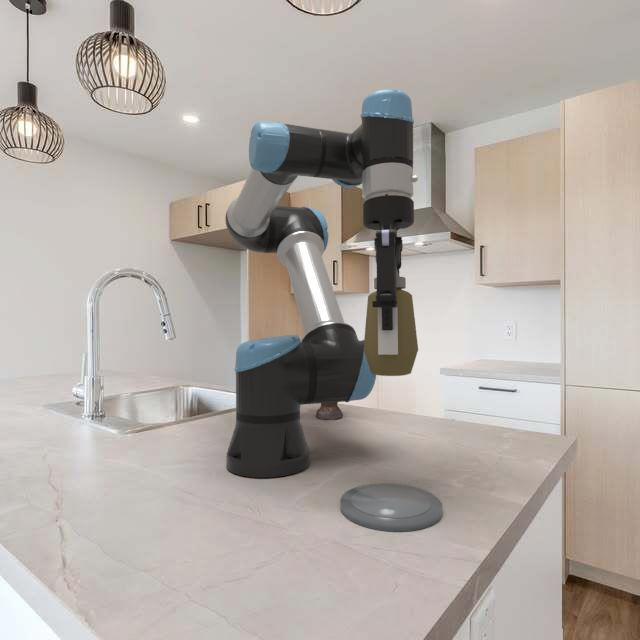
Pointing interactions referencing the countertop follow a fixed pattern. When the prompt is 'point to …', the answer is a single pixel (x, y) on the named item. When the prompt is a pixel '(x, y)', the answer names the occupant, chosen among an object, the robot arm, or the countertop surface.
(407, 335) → the squeeze bottle
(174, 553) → the countertop surface
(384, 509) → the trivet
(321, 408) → the mortar and pestle
